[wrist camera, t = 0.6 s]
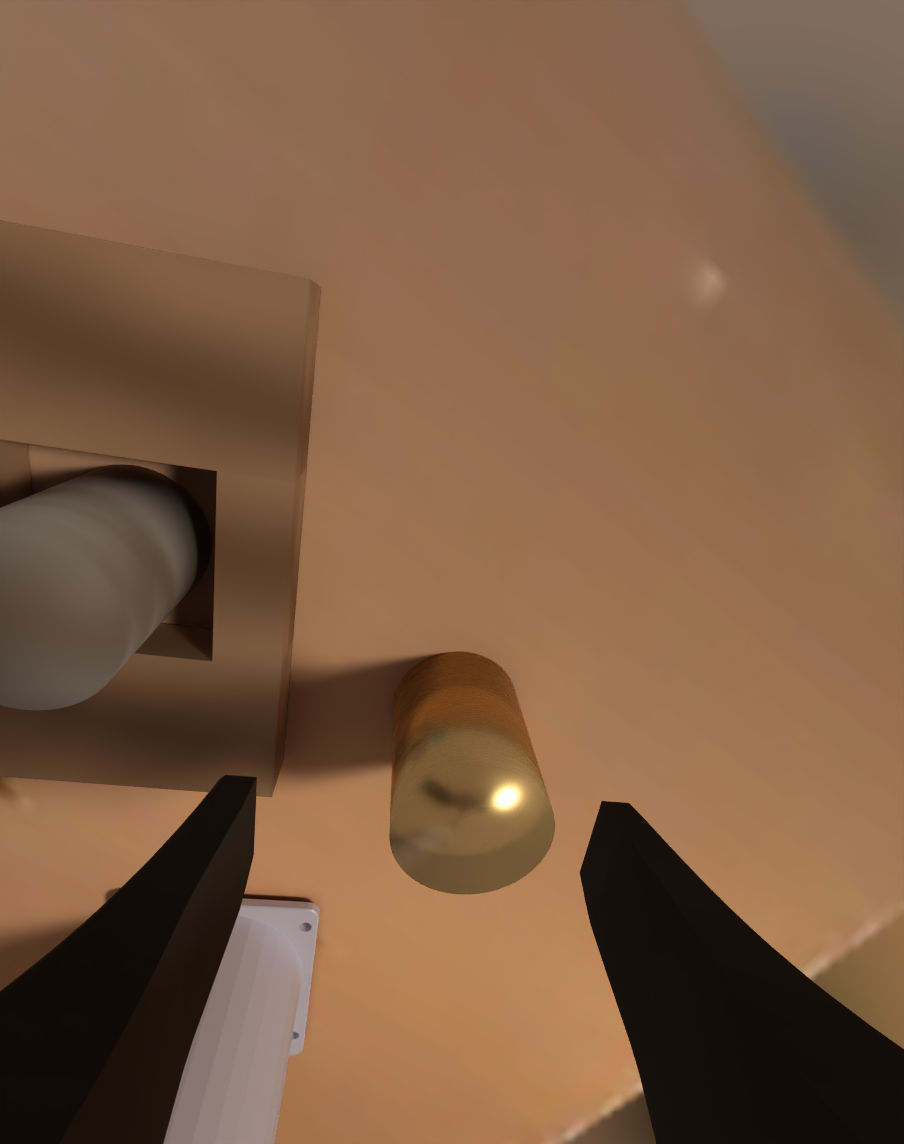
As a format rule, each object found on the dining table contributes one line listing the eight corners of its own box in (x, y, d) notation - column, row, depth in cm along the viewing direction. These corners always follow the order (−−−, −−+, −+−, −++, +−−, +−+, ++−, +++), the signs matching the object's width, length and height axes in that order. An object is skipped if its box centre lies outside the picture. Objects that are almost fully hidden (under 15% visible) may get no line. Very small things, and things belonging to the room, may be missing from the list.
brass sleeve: (503, 760, 22) (535, 898, 17) (386, 749, 22) (379, 889, 16) (527, 658, 21) (572, 774, 15) (402, 645, 20) (401, 759, 15)
